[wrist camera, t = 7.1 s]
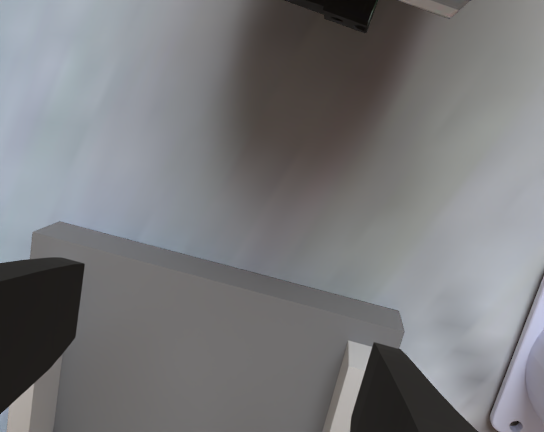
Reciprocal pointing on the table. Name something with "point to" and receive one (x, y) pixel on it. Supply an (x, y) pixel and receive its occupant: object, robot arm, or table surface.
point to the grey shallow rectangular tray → (198, 346)
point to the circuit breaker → (372, 9)
